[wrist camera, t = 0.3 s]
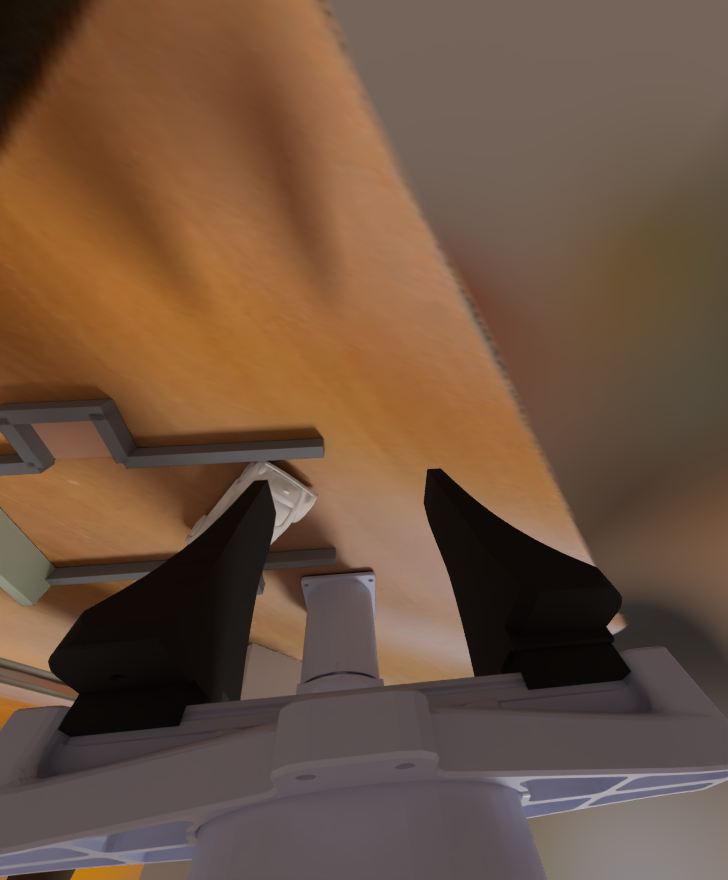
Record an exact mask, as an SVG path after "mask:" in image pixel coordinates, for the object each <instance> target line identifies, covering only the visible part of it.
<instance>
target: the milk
mask: <svg viewBox="0 0 728 880" xmlns="http://www.w3.org/2000/svg"><path fill="white" fill-rule="evenodd" d="M301 670H302V662H300V661H298V660H295V659H293V658H290V657H287V656H285V655H282V654H280V653H277V652H274V651H272V650H269V649H267V648H264V647H261V646H259V645H256V644H254V643H252V644H251V645H249V646H248V647H247V654H246V661H245V668H244V676H243V684H242V692H241V700H249V699H259V698H269V697H279V696H289V695H296V690H297V684H300V680H301ZM191 862H192V860H185V861H172V862H159V863H146V864H144V865H143V869H142V872H141V876H140V879H139V880H187V878H188V874H189V870H190V866H191Z"/></svg>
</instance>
